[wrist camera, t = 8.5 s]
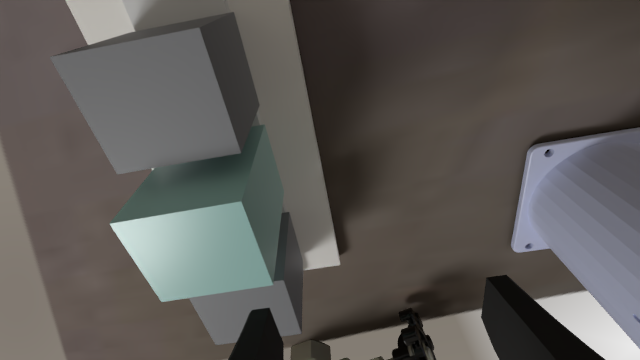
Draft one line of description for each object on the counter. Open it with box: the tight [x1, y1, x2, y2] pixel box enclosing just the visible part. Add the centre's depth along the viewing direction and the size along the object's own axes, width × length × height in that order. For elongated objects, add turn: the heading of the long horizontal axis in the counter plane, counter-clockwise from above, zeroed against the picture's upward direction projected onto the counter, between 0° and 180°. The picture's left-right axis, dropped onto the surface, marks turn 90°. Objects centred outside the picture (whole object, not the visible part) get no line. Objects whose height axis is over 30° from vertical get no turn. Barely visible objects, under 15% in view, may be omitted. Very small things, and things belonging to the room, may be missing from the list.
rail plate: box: [50, 0, 340, 345], centre depth 16 cm, size 9×18×6 cm, turn 10°
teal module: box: [110, 124, 284, 302], centre depth 15 cm, size 4×4×6 cm
